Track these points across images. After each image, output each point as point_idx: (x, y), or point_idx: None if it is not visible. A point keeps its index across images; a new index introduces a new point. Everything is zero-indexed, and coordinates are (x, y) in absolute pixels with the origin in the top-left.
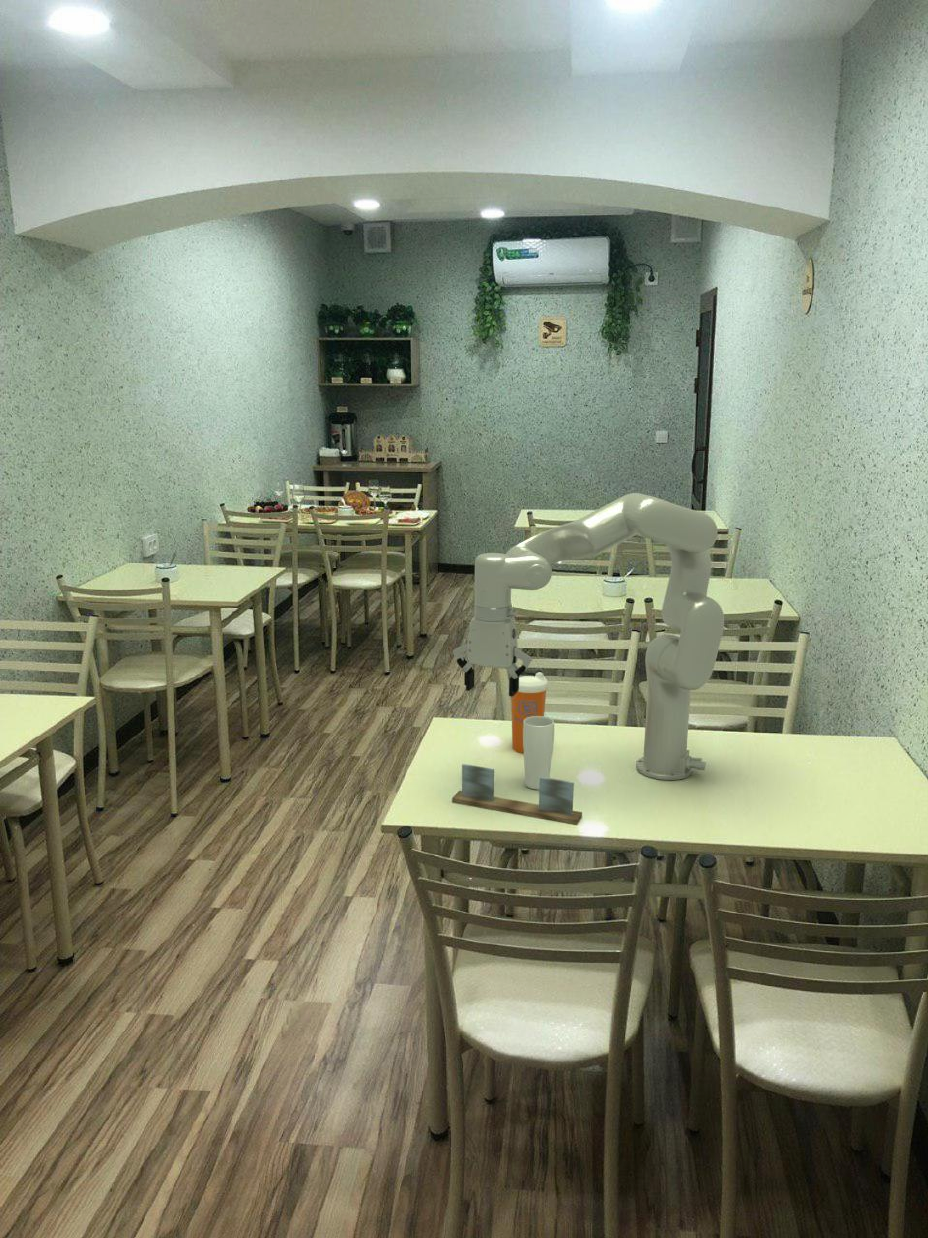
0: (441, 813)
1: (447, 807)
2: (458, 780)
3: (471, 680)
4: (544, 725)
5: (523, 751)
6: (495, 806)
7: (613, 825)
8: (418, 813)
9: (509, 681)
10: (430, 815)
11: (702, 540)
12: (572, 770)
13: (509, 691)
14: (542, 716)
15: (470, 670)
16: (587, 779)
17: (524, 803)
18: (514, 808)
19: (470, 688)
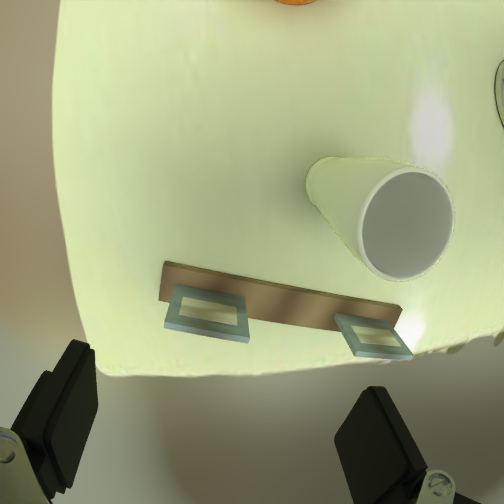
0: (155, 338)
1: (157, 315)
2: (146, 184)
3: (80, 426)
4: (415, 172)
5: (287, 1)
6: (251, 317)
7: (433, 319)
8: (118, 342)
9: (355, 502)
10: (139, 346)
11: None
12: (401, 92)
13: (341, 456)
14: (426, 172)
15: (52, 482)
16: (427, 140)
17: (307, 299)
18: (288, 322)
19: (95, 401)
